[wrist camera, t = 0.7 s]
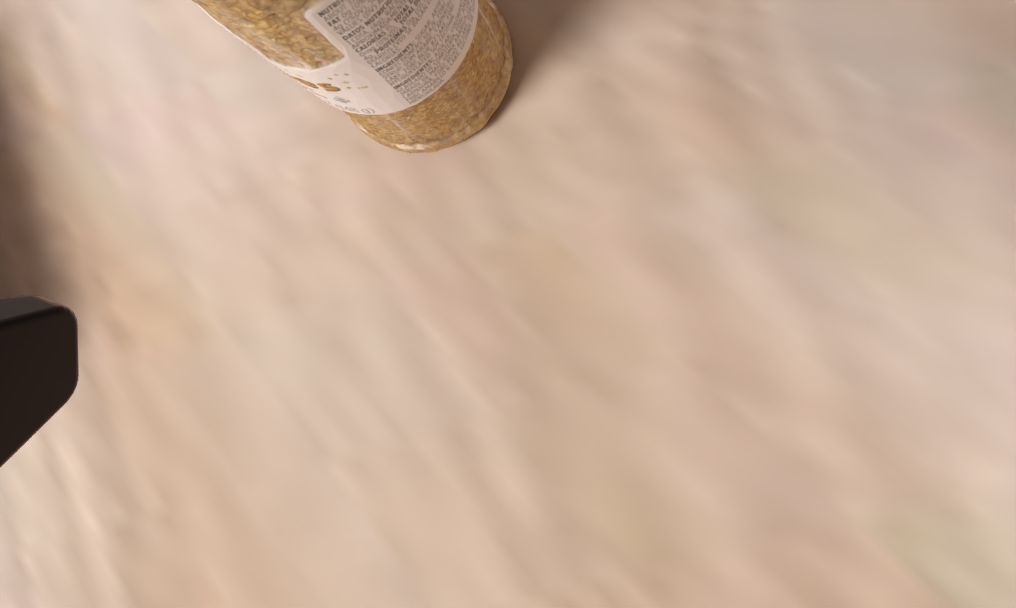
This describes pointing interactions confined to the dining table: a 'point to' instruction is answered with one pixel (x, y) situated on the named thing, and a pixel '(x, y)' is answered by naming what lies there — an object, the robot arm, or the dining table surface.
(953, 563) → the dining table surface
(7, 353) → the robot arm
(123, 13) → the dining table surface
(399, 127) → the sprinkles bottle
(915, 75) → the dining table surface
